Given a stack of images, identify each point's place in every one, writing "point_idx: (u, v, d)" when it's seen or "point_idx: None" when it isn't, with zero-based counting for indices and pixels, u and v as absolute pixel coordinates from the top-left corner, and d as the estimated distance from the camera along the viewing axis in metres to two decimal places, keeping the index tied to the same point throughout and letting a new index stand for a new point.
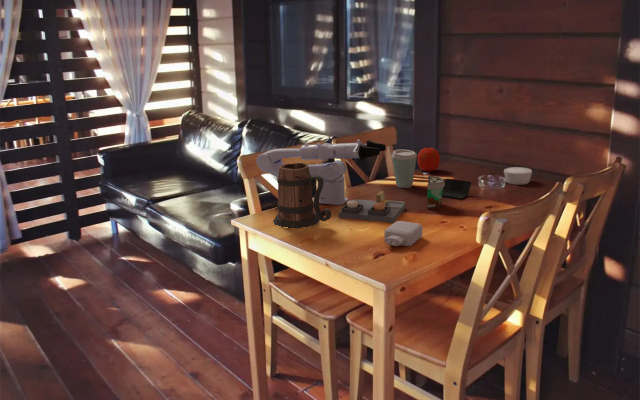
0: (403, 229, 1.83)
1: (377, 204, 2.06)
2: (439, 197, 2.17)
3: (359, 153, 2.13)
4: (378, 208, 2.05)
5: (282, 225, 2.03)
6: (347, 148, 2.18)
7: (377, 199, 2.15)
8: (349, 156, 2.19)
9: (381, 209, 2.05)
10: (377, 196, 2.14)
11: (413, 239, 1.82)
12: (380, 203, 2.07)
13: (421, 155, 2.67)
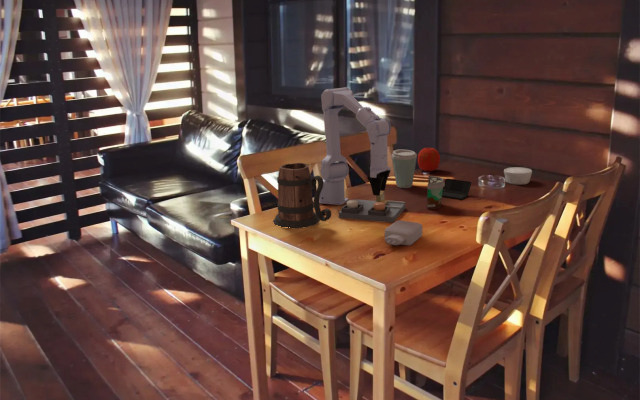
0: (403, 228, 1.84)
1: (377, 204, 2.06)
2: (439, 197, 2.17)
3: (374, 177, 1.99)
4: (378, 208, 2.05)
5: (282, 225, 2.03)
6: (380, 159, 1.99)
7: (377, 199, 2.15)
8: (372, 159, 2.01)
9: (381, 209, 2.05)
10: (377, 196, 2.14)
11: (413, 239, 1.83)
12: (380, 203, 2.07)
13: (421, 155, 2.67)
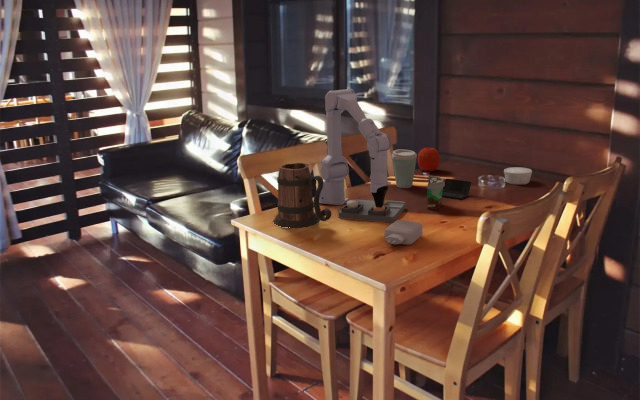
0: (403, 228, 1.84)
1: (377, 207, 2.06)
2: (439, 197, 2.17)
3: (377, 190, 2.03)
4: None
5: (282, 225, 2.03)
6: (380, 174, 2.01)
7: None
8: (372, 174, 2.02)
9: None
10: None
11: (413, 238, 1.83)
12: None
13: (421, 155, 2.67)
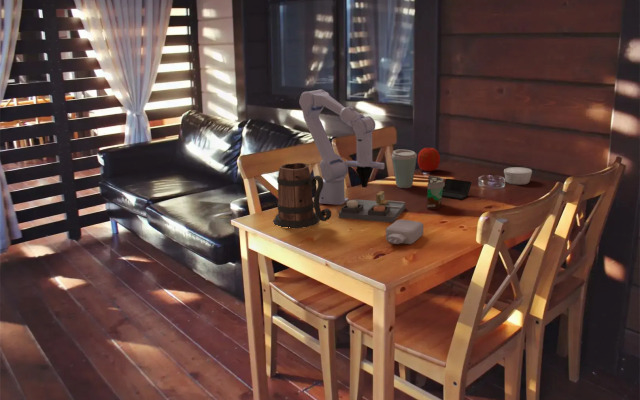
0: (404, 227, 1.85)
1: (377, 207, 2.06)
2: (439, 197, 2.17)
3: None
4: None
5: (282, 225, 2.03)
6: None
7: (377, 199, 2.15)
8: None
9: None
10: (377, 196, 2.14)
11: (414, 237, 1.83)
12: (380, 206, 2.08)
13: (421, 155, 2.67)
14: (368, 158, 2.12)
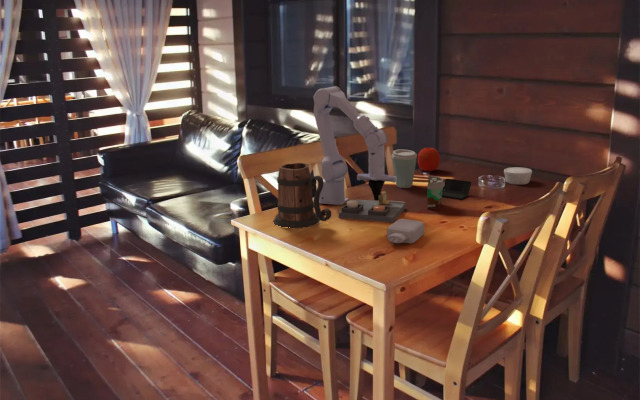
0: (405, 227, 1.85)
1: (377, 207, 2.06)
2: (439, 197, 2.17)
3: None
4: None
5: (282, 225, 2.03)
6: None
7: (379, 199, 2.14)
8: None
9: None
10: (379, 196, 2.14)
11: (416, 237, 1.84)
12: (380, 206, 2.08)
13: (421, 155, 2.67)
14: (380, 171, 2.12)
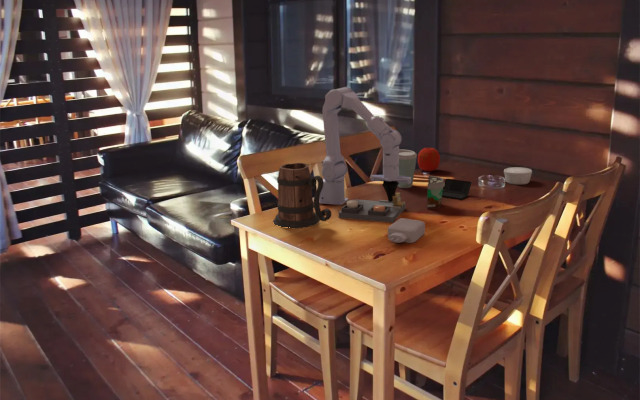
0: (406, 226, 1.85)
1: (377, 207, 2.06)
2: (439, 197, 2.17)
3: None
4: None
5: (282, 225, 2.03)
6: (383, 167, 2.12)
7: (393, 200, 2.12)
8: None
9: None
10: (394, 197, 2.12)
11: (416, 236, 1.84)
12: (380, 206, 2.08)
13: (421, 155, 2.67)
14: (395, 172, 2.10)
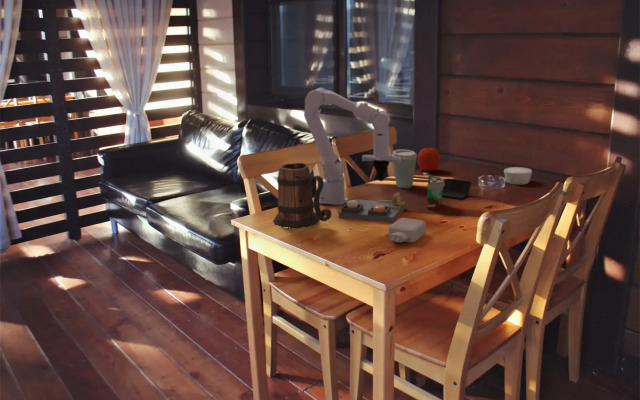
0: (407, 226, 1.86)
1: (377, 207, 2.06)
2: (439, 197, 2.17)
3: None
4: None
5: (282, 225, 2.03)
6: None
7: (393, 200, 2.12)
8: None
9: None
10: (394, 197, 2.12)
11: (417, 236, 1.85)
12: (380, 206, 2.08)
13: (421, 155, 2.67)
14: (385, 152, 2.16)
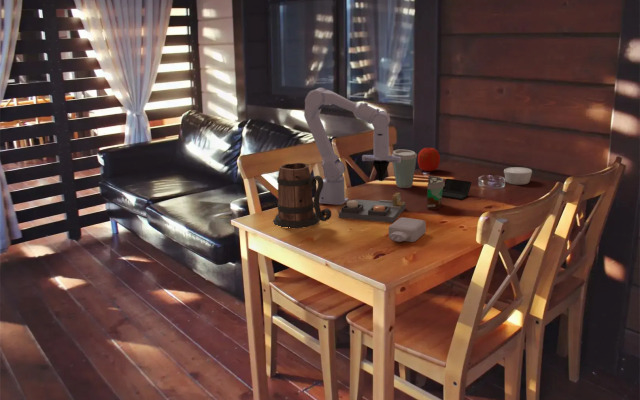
0: (407, 225, 1.86)
1: (377, 207, 2.06)
2: (439, 197, 2.17)
3: None
4: None
5: (282, 225, 2.03)
6: None
7: (393, 200, 2.12)
8: None
9: None
10: (394, 197, 2.12)
11: (417, 235, 1.85)
12: (380, 206, 2.08)
13: (421, 155, 2.67)
14: (385, 152, 2.16)
